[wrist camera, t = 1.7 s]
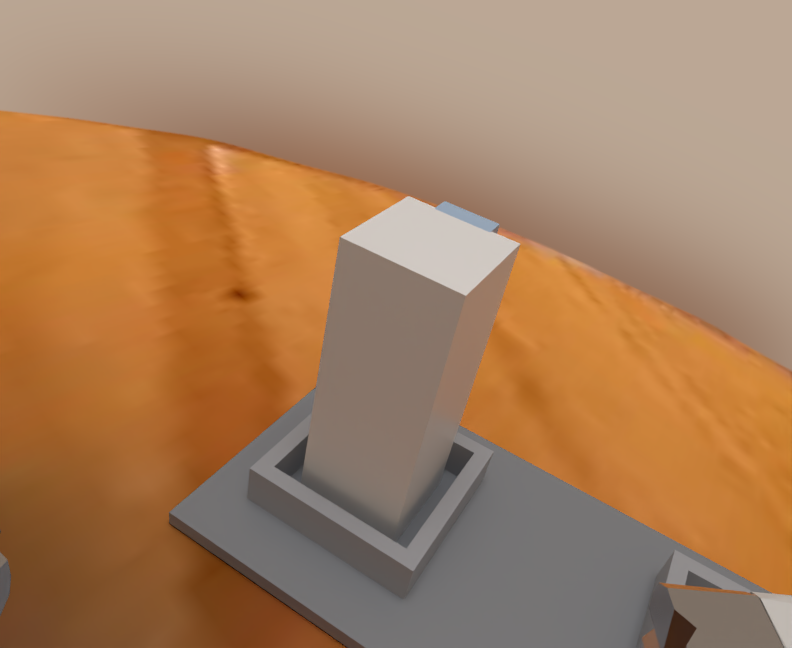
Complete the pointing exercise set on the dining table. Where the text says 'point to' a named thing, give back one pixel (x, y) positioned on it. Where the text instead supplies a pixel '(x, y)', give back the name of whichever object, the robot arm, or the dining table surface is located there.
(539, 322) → the dining table surface
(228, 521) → the grey flat plate
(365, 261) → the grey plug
